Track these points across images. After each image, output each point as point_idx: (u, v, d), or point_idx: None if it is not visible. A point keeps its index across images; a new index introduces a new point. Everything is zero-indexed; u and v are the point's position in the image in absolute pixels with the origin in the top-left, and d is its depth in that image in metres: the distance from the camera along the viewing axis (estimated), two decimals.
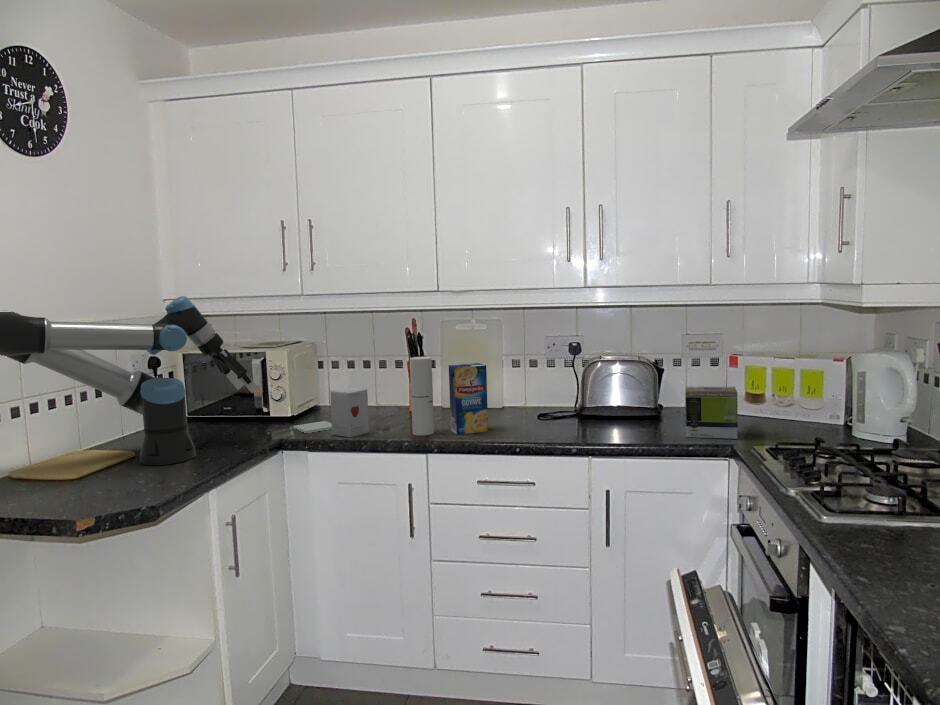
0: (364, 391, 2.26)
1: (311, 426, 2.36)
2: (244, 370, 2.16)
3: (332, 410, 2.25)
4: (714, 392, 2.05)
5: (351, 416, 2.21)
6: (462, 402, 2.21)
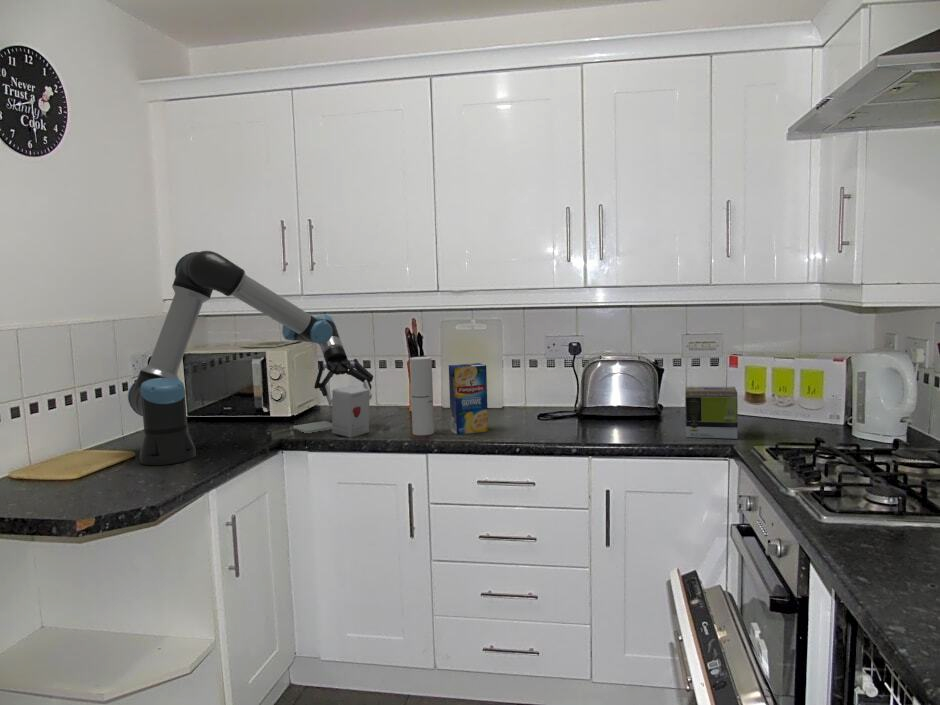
0: (366, 391, 2.25)
1: (311, 426, 2.36)
2: None
3: (333, 409, 2.24)
4: (714, 392, 2.05)
5: (353, 417, 2.21)
6: (462, 402, 2.21)
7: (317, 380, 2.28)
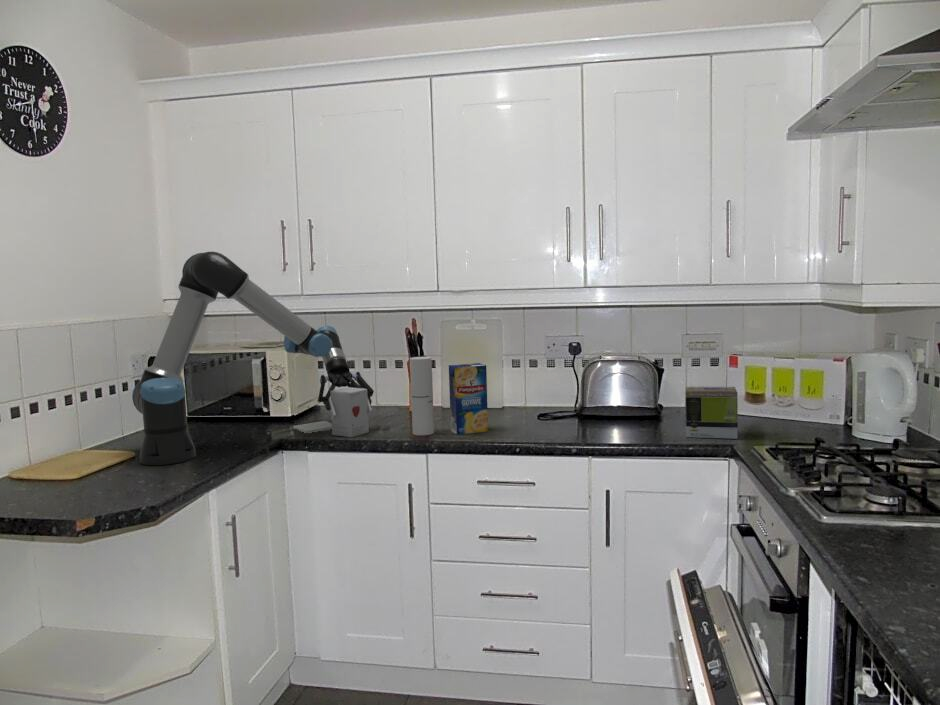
0: (364, 391, 2.26)
1: (311, 426, 2.36)
2: None
3: None
4: (714, 392, 2.05)
5: (352, 416, 2.21)
6: (462, 402, 2.21)
7: (320, 393, 2.24)
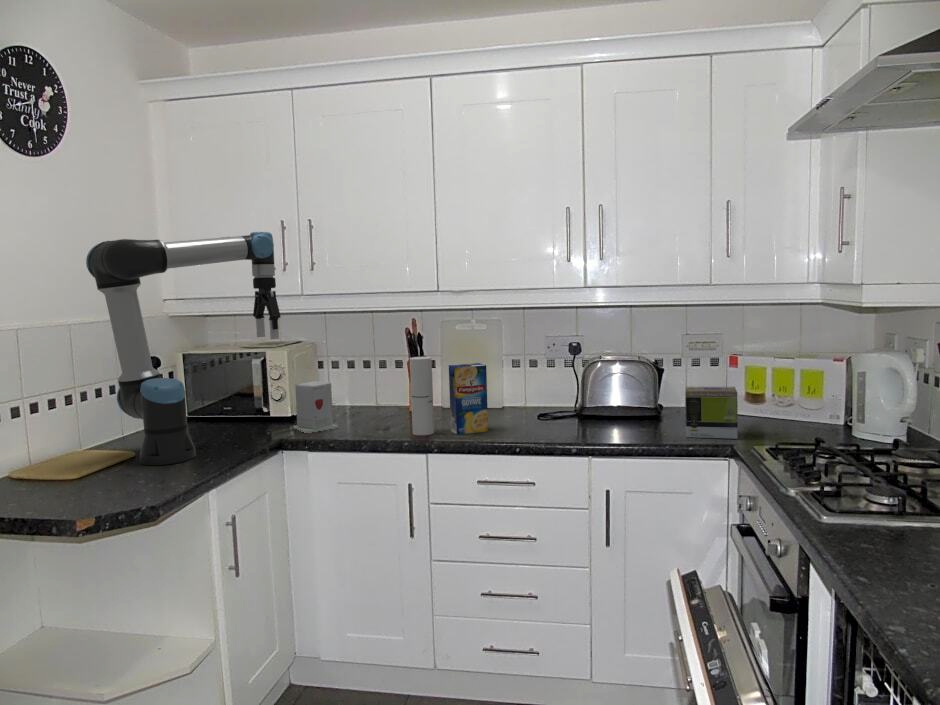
0: (328, 384, 2.35)
1: None
2: (278, 315, 2.31)
3: (297, 403, 2.34)
4: (714, 392, 2.05)
5: (315, 409, 2.31)
6: (462, 402, 2.21)
7: (253, 312, 2.45)
